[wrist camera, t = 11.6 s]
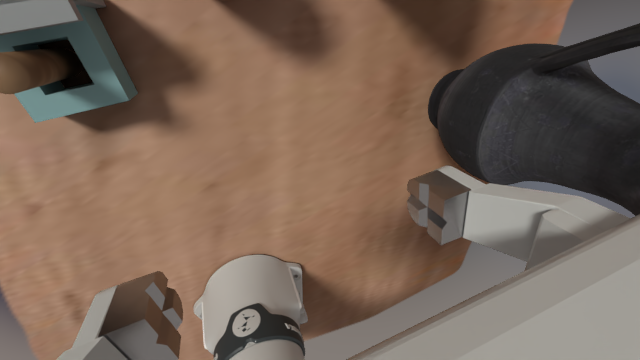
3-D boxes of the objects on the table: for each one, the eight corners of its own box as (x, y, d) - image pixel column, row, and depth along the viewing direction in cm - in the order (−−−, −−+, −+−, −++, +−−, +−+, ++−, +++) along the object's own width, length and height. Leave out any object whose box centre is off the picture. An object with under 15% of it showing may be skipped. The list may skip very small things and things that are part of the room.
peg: (88, 73, 28) (36, 89, 20) (59, 79, 27) (-7, 97, 19) (72, 45, 27) (9, 49, 18) (42, 50, 26) (-38, 57, 18)
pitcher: (422, 168, 49) (641, 304, 24) (382, 61, 38) (716, 111, 13) (499, 113, 50) (792, 191, 25) (483, -9, 38) (995, -94, 13)
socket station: (147, 91, 30) (127, 109, 23) (44, 115, 28) (-15, 143, 21) (100, -6, 26) (55, -23, 18) (-27, 14, 24) (-137, 4, 16)
